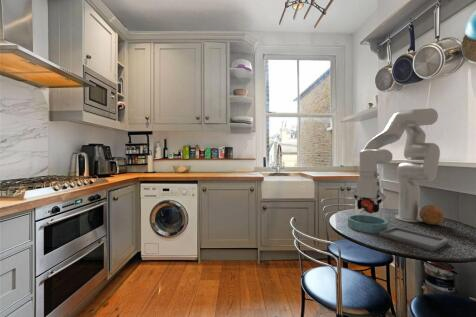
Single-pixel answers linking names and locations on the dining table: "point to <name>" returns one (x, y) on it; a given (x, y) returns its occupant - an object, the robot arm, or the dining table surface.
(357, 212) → the jar
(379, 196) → the robot arm
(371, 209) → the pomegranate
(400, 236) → the tray
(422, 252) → the dining table surface
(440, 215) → the onion
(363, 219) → the teal polygonal ring
